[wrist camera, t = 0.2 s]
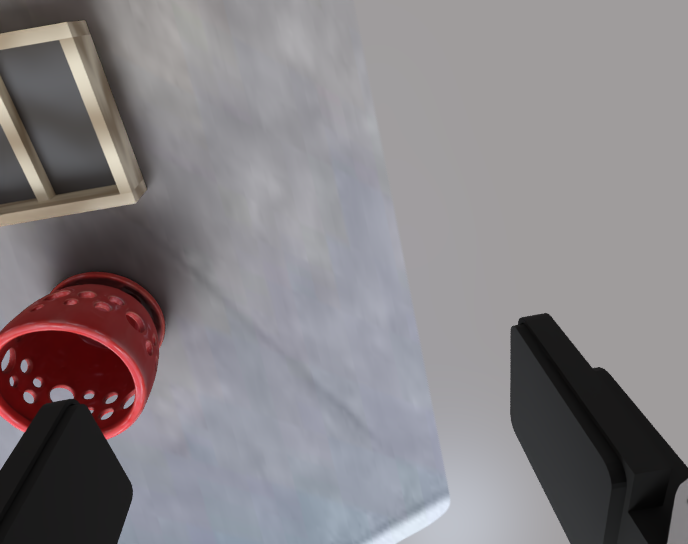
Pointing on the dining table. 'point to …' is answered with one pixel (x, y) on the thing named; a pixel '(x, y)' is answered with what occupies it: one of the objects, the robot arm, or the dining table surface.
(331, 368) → the dining table surface
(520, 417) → the robot arm
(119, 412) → the plant pot
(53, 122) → the track
